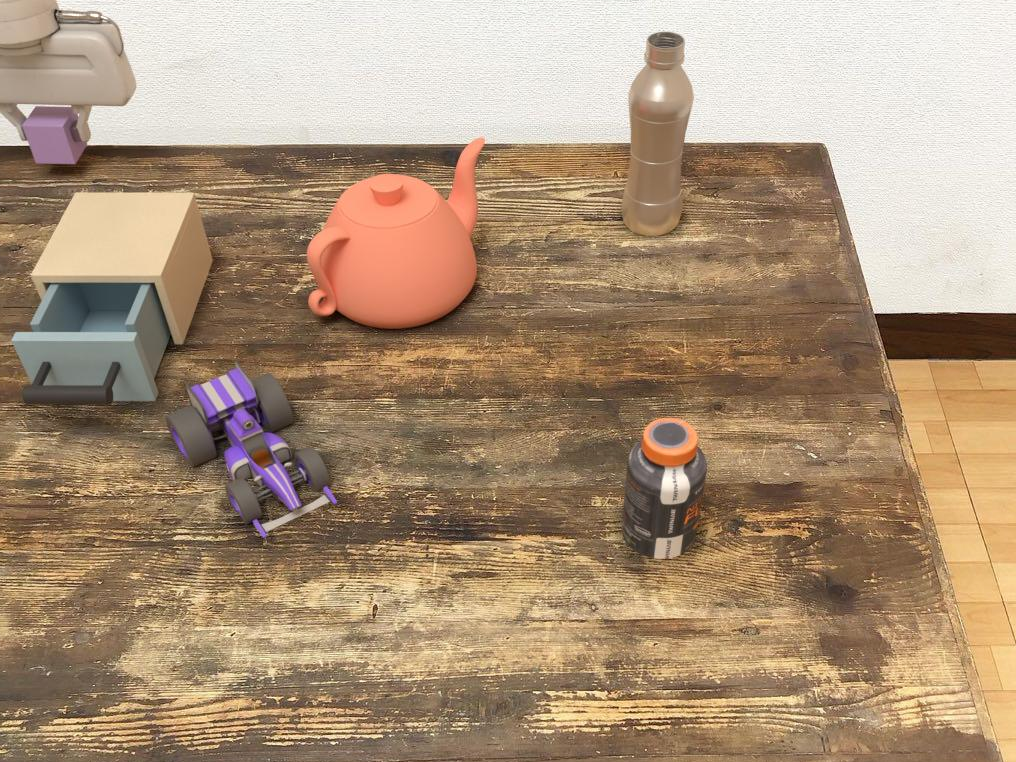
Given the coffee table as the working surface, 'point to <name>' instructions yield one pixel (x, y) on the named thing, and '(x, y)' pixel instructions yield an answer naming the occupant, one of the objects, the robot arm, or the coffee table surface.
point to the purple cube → (52, 135)
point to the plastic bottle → (657, 137)
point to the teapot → (397, 249)
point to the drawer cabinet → (132, 248)
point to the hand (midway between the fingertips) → (56, 139)
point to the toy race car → (248, 443)
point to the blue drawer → (94, 344)
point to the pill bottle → (664, 490)
